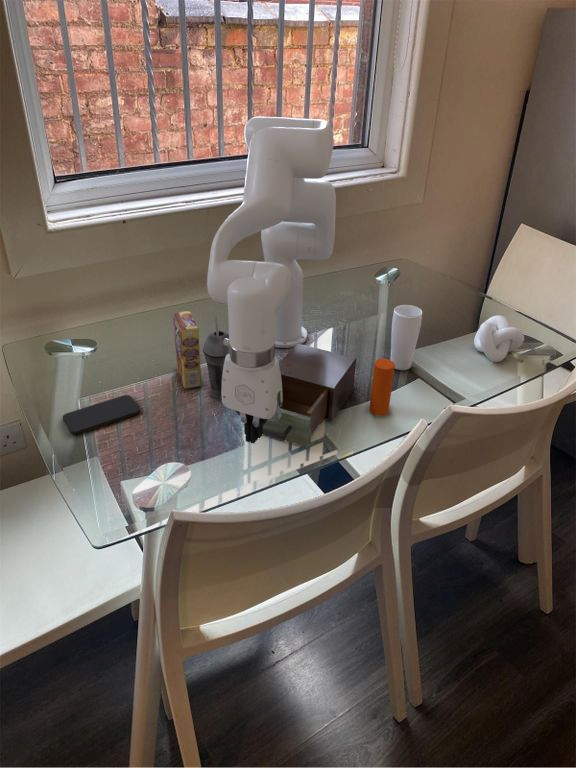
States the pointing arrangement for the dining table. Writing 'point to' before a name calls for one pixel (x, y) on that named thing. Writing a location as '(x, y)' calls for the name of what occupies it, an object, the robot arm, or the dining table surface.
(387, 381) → the roller
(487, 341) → the white knot sculpture
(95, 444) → the dining table surface
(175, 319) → the candy box
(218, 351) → the beverage cup
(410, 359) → the drinking glass
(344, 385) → the cabinet
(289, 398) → the drawer
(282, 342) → the robot arm
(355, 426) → the dining table surface
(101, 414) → the phone
